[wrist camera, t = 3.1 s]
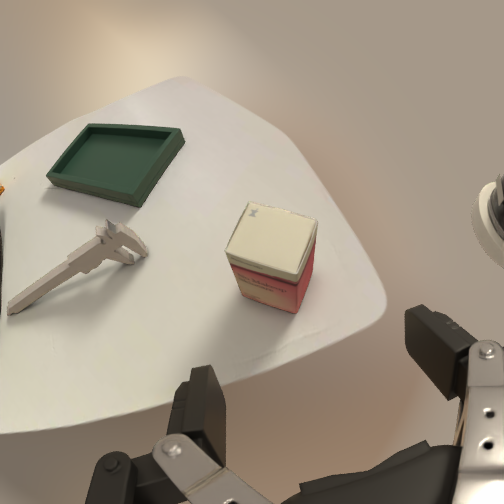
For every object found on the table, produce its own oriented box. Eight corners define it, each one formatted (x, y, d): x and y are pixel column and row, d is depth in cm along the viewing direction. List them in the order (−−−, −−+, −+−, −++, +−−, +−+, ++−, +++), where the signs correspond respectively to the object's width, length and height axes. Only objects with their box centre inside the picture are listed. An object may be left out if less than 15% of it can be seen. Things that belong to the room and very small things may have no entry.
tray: (185, 141, 37) (180, 128, 35) (140, 207, 33) (132, 195, 31) (94, 133, 42) (88, 123, 40) (53, 185, 38) (45, 175, 36)
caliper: (148, 248, 30) (120, 212, 25) (150, 257, 30) (121, 221, 24) (9, 309, 29) (-26, 288, 24) (9, 317, 29) (-27, 297, 23)
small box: (240, 296, 27) (220, 251, 20) (260, 253, 28) (247, 198, 22) (297, 316, 25) (297, 276, 18) (314, 270, 27) (319, 217, 20)
